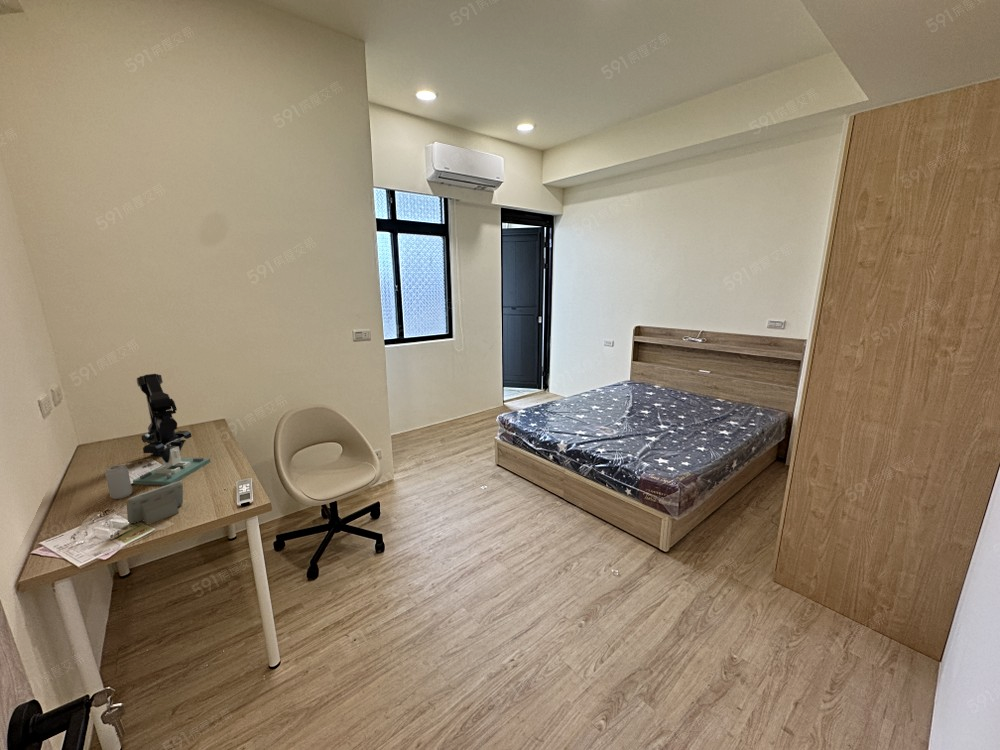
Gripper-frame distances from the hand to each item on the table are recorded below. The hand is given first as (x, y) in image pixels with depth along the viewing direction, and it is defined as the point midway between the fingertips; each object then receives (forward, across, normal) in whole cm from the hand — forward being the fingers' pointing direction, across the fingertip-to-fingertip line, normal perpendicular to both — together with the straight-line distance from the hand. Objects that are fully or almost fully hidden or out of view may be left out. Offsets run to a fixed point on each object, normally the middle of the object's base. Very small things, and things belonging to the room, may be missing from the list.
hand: (171, 460), depth 175 cm
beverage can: (+6, +20, -4) cm, 21 cm away
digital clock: (+6, +32, +22) cm, 39 cm away
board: (+6, 0, 0) cm, 6 cm away
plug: (+2, 0, 0) cm, 2 cm away
